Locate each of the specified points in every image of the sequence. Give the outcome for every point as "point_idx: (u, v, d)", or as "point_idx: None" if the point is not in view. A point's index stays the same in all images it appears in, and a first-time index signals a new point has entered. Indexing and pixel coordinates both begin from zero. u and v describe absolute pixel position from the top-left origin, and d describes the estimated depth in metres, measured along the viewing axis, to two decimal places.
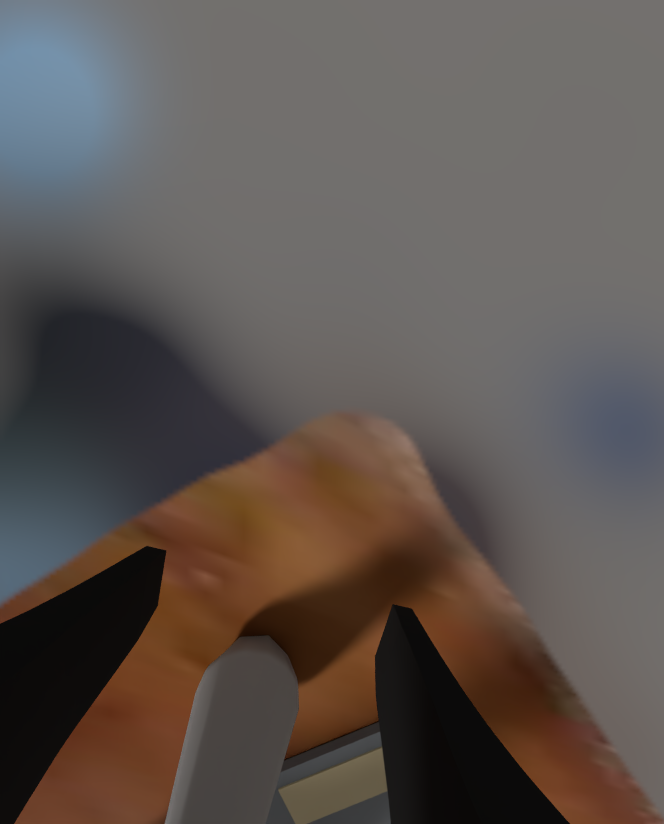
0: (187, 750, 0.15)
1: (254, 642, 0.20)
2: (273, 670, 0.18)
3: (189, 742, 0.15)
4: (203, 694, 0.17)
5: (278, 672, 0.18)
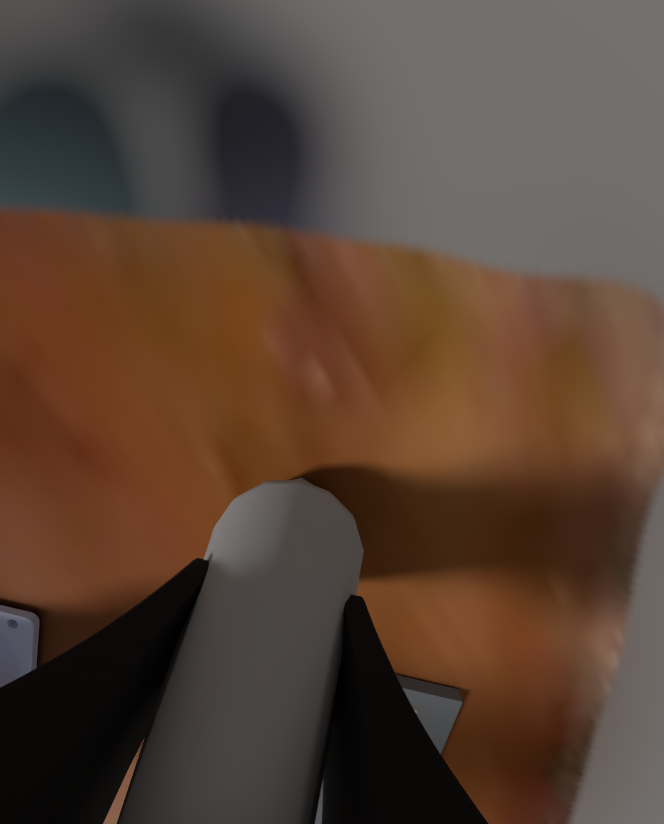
0: (237, 566, 0.09)
1: None
2: (357, 543, 0.12)
3: (240, 557, 0.09)
4: (265, 509, 0.11)
5: (359, 549, 0.12)
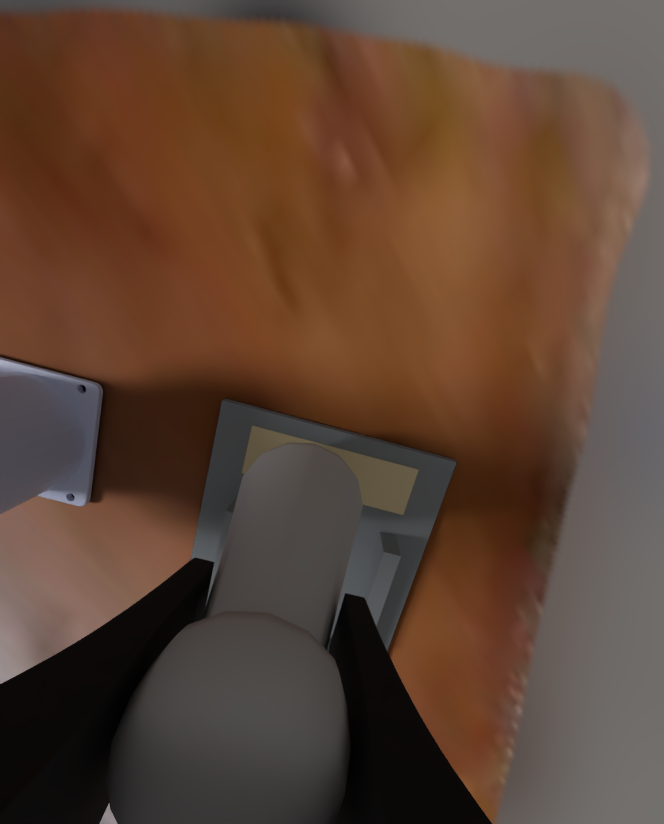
0: (271, 495, 0.12)
1: None
2: (358, 496, 0.15)
3: (273, 490, 0.12)
4: (289, 461, 0.14)
5: (360, 502, 0.15)
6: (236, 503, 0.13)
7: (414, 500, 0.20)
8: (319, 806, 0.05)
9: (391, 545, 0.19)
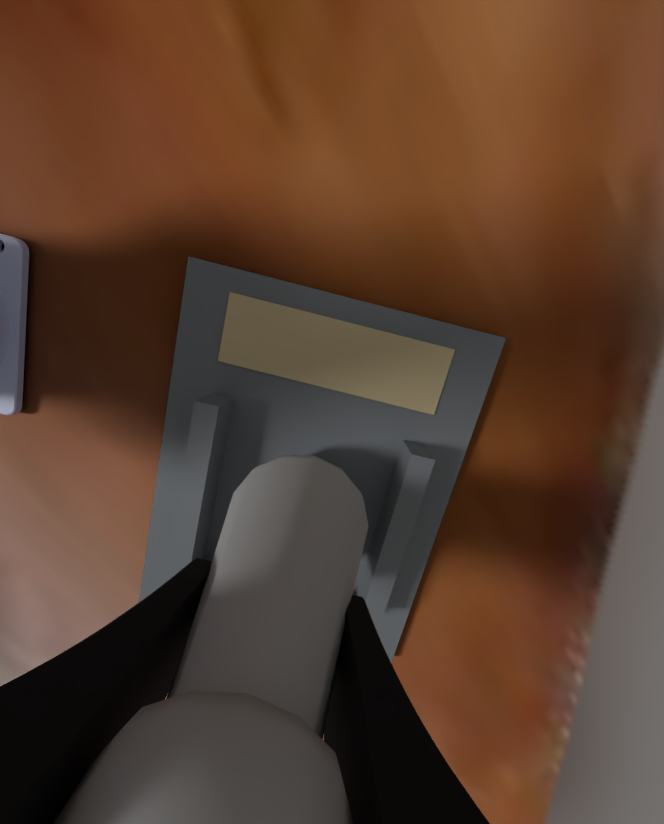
0: (262, 519, 0.10)
1: None
2: (363, 516, 0.13)
3: (264, 512, 0.10)
4: (285, 477, 0.12)
5: (365, 522, 0.13)
6: (223, 526, 0.11)
7: (448, 394, 0.15)
8: None
9: (420, 450, 0.14)
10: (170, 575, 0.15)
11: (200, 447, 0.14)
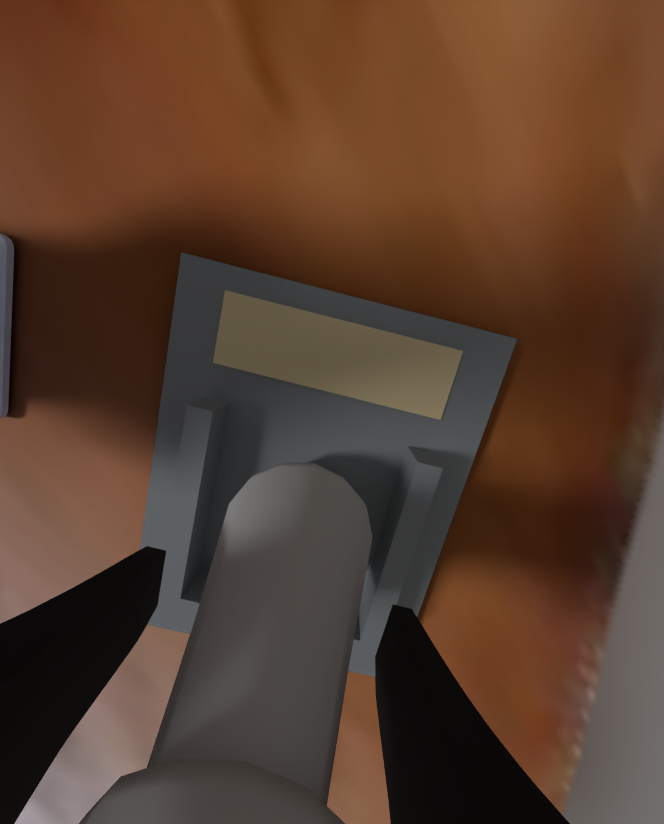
0: (260, 536, 0.09)
1: None
2: (367, 528, 0.12)
3: (263, 529, 0.09)
4: (284, 488, 0.11)
5: (369, 534, 0.12)
6: (218, 541, 0.11)
7: (456, 398, 0.14)
8: None
9: (426, 458, 0.14)
10: (162, 589, 0.14)
11: (193, 454, 0.13)
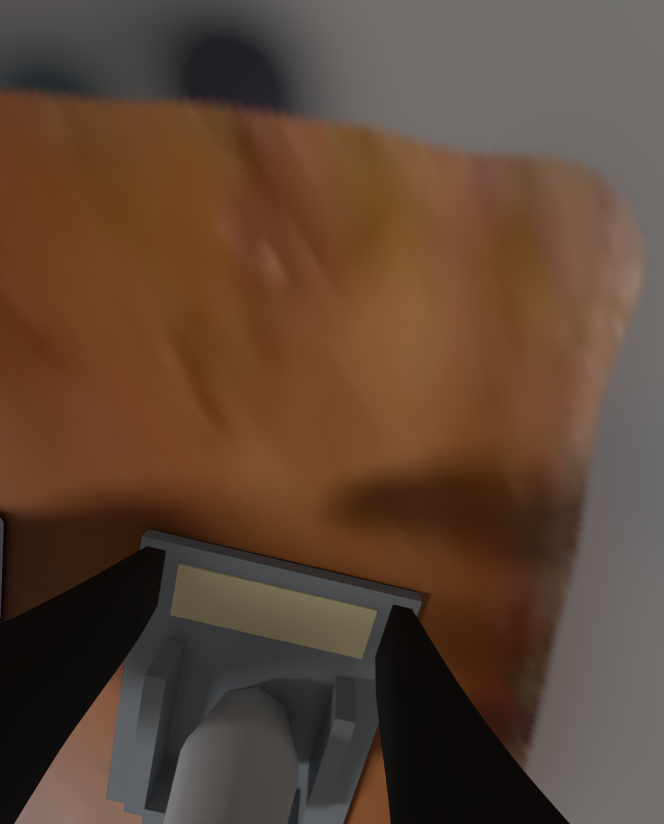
0: None
1: (277, 716, 0.17)
2: (292, 779, 0.15)
3: None
4: (219, 768, 0.14)
5: (294, 782, 0.15)
6: (164, 822, 0.13)
7: (374, 643, 0.17)
8: None
9: (346, 701, 0.16)
10: (129, 801, 0.17)
11: (151, 709, 0.16)
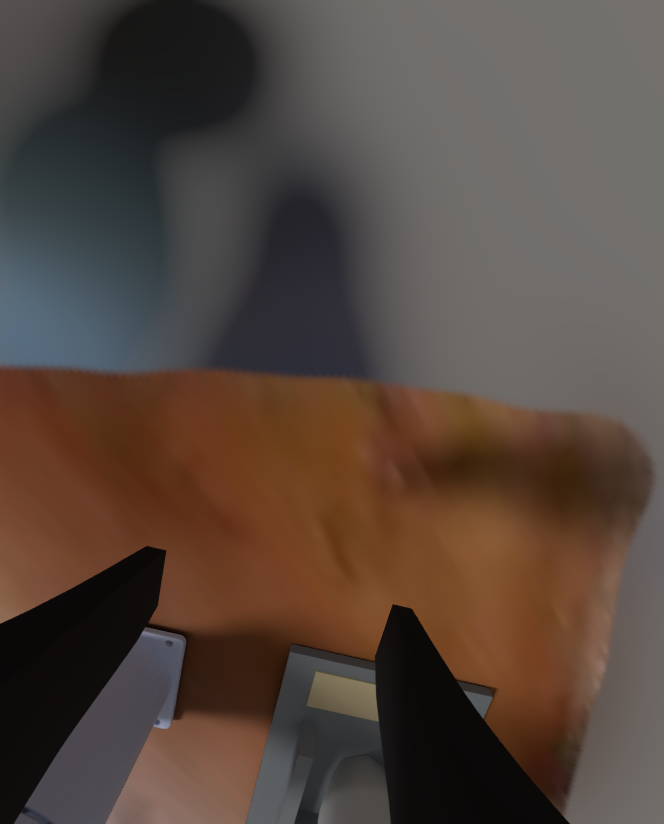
0: None
1: None
2: None
3: None
4: None
5: None
6: None
7: None
8: None
9: None
10: None
11: (300, 778, 0.22)
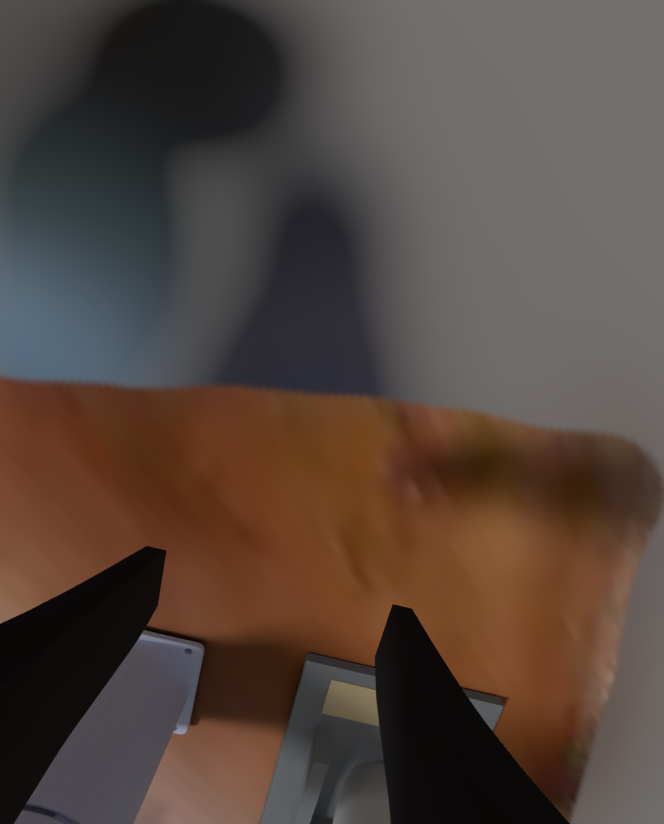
0: None
1: None
2: None
3: None
4: None
5: None
6: None
7: None
8: None
9: None
10: None
11: (315, 784, 0.22)
